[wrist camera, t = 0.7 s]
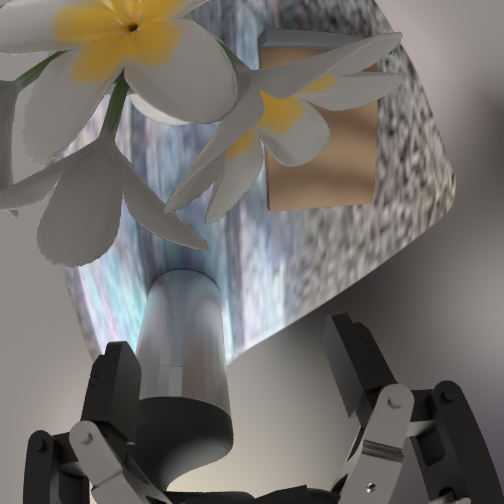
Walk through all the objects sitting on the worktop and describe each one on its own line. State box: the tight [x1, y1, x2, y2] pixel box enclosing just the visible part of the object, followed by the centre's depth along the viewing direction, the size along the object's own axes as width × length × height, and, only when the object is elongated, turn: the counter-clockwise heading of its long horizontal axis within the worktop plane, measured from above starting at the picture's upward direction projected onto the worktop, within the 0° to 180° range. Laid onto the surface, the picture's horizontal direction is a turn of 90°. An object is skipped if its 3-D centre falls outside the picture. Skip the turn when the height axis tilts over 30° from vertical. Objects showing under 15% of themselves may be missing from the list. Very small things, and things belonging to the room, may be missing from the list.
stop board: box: [258, 29, 392, 212], centre depth 25 cm, size 18×12×4 cm, turn 4°
